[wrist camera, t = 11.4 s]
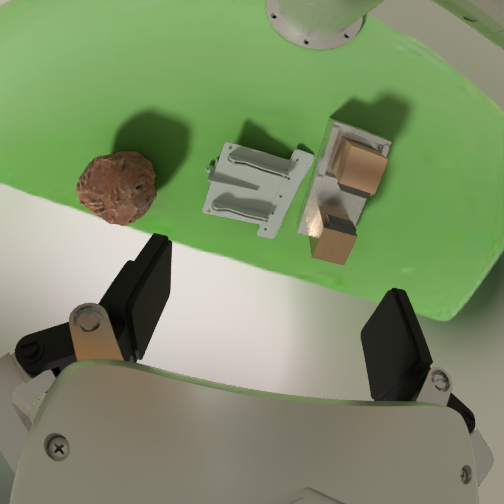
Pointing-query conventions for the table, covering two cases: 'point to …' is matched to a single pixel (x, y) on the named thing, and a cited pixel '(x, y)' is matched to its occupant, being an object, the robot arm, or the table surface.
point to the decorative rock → (118, 187)
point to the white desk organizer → (334, 197)
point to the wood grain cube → (358, 167)
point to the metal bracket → (255, 186)
